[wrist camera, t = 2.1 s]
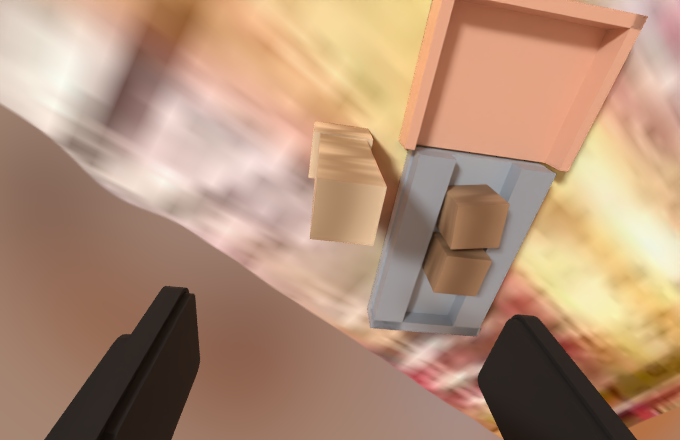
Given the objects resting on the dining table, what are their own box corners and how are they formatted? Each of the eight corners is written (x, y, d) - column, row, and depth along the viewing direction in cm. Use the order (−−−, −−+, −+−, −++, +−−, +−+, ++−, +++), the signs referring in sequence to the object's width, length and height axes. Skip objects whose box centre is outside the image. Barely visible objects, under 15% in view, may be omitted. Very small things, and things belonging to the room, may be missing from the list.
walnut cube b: (486, 184, 28) (509, 203, 24) (478, 223, 30) (498, 247, 26) (441, 185, 28) (458, 206, 24) (436, 225, 30) (450, 249, 26)
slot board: (538, 163, 28) (558, 174, 26) (467, 317, 37) (477, 336, 35) (409, 144, 27) (417, 154, 25) (367, 308, 36) (370, 327, 34)
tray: (619, 19, 23) (648, 16, 21) (549, 162, 28) (567, 171, 26) (436, -18, 22) (448, -25, 20) (398, 140, 27) (404, 148, 25)
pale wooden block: (367, 128, 26) (397, 186, 15) (359, 169, 28) (381, 248, 17) (315, 121, 26) (307, 175, 15) (310, 163, 28) (300, 239, 17)
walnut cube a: (473, 236, 30) (492, 260, 27) (459, 269, 32) (475, 296, 29) (433, 231, 30) (447, 256, 27) (421, 265, 32) (433, 292, 28)
